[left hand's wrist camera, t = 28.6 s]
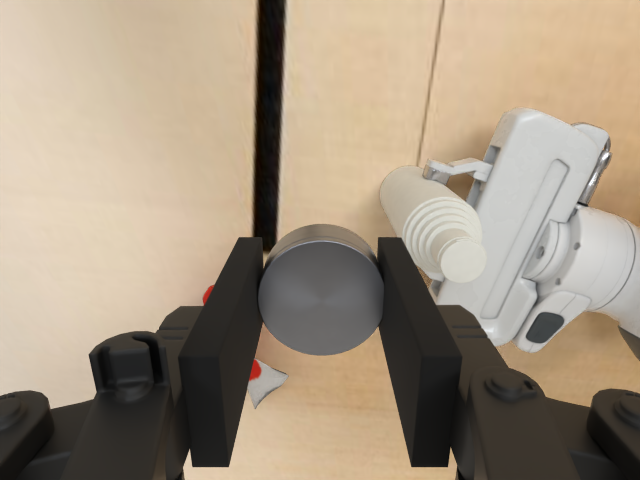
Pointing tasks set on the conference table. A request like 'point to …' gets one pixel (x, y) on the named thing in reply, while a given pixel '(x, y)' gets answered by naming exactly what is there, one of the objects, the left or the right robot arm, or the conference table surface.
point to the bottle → (434, 225)
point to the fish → (259, 375)
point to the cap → (321, 290)
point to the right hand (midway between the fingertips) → (411, 207)
